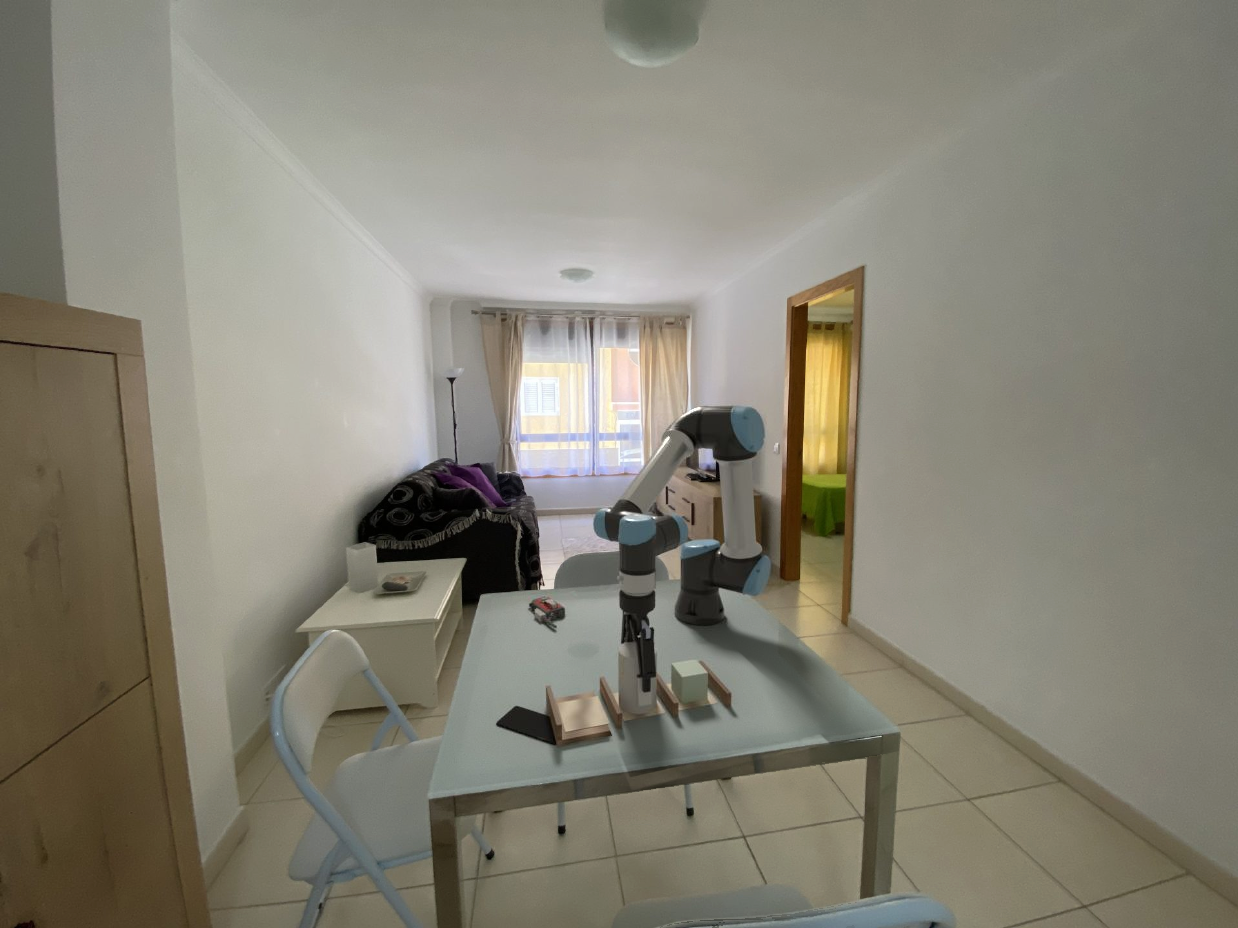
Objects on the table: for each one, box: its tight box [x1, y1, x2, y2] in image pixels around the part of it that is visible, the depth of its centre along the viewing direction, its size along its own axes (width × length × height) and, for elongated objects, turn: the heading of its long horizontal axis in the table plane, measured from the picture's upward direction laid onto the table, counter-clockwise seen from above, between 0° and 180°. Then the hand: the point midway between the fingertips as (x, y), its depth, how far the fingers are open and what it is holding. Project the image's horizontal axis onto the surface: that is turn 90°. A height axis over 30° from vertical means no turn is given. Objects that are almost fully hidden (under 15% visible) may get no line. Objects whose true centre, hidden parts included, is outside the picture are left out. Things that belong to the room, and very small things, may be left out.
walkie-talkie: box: [528, 596, 566, 629], centre depth 156 cm, size 9×4×20 cm
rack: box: [545, 660, 732, 748], centre depth 108 cm, size 37×14×4 cm, turn 106°
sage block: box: [670, 659, 709, 703], centre depth 111 cm, size 6×6×6 cm
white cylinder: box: [617, 641, 658, 714], centre depth 108 cm, size 8×8×12 cm
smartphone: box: [495, 705, 557, 746], centre depth 103 cm, size 7×1×15 cm
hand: (637, 691), depth 108 cm, fingers open, 9 cm apart
